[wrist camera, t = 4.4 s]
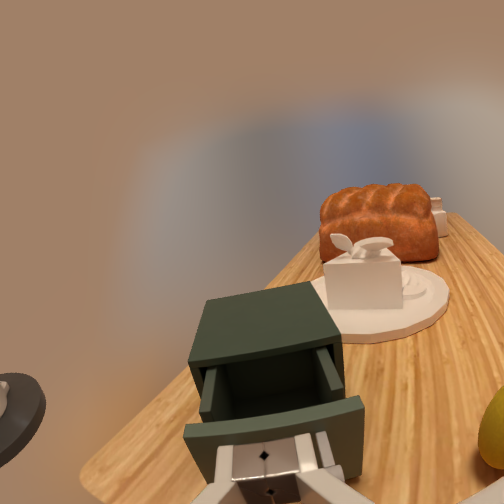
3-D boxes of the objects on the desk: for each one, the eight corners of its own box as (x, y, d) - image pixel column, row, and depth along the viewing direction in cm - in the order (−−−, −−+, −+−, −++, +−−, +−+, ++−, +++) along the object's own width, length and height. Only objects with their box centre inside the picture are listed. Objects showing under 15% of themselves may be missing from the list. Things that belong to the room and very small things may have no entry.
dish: (455, 342, 29) (459, 246, 26) (262, 337, 42) (245, 257, 39) (443, 268, 49) (440, 206, 47) (318, 273, 62) (309, 218, 59)
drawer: (376, 519, 12) (389, 459, 11) (212, 544, 13) (170, 492, 11) (329, 385, 27) (322, 321, 26) (224, 404, 28) (204, 342, 26)
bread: (439, 263, 52) (433, 181, 49) (315, 266, 67) (303, 194, 64) (438, 244, 63) (433, 176, 60) (335, 248, 78) (326, 187, 75)
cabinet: (346, 418, 24) (341, 333, 22) (217, 440, 24) (187, 361, 22) (319, 349, 36) (309, 280, 34) (224, 367, 36) (206, 300, 34)
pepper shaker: (435, 238, 67) (432, 200, 65) (428, 235, 71) (425, 198, 69) (448, 236, 67) (445, 198, 65) (441, 233, 71) (438, 196, 69)
